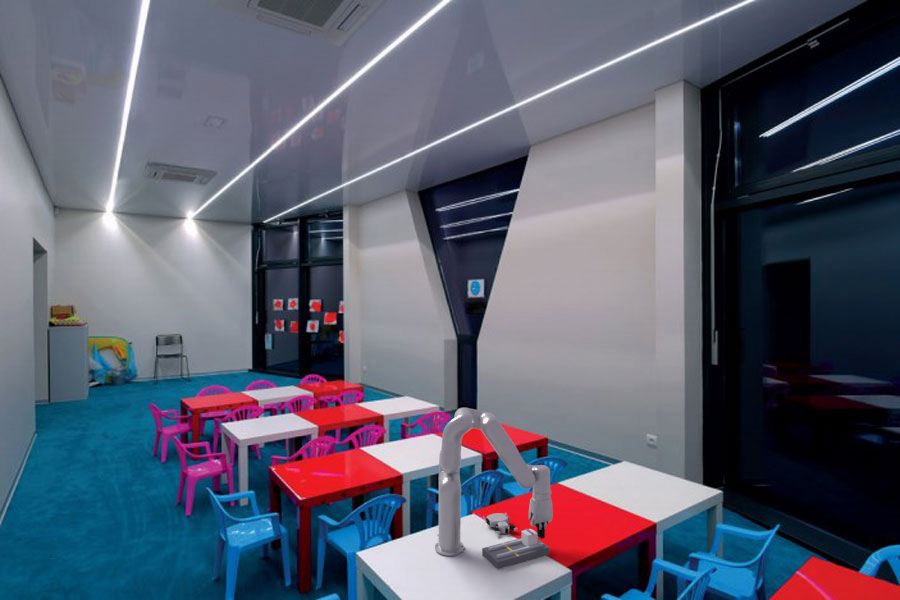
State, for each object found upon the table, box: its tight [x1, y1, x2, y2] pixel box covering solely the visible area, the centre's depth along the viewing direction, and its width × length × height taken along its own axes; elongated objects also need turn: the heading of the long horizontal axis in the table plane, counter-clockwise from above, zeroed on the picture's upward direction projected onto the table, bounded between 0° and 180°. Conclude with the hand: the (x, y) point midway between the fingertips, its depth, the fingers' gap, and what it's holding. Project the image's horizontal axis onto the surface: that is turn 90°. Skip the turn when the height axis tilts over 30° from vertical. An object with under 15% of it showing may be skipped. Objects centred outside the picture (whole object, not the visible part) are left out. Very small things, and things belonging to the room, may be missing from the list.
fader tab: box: [521, 528, 538, 546], centre depth 205 cm, size 5×5×6 cm
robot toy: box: [482, 512, 518, 535], centre depth 225 cm, size 12×4×15 cm
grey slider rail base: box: [481, 537, 550, 570], centre depth 201 cm, size 12×26×4 cm, turn 117°
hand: (541, 537), depth 208 cm, fingers closed
